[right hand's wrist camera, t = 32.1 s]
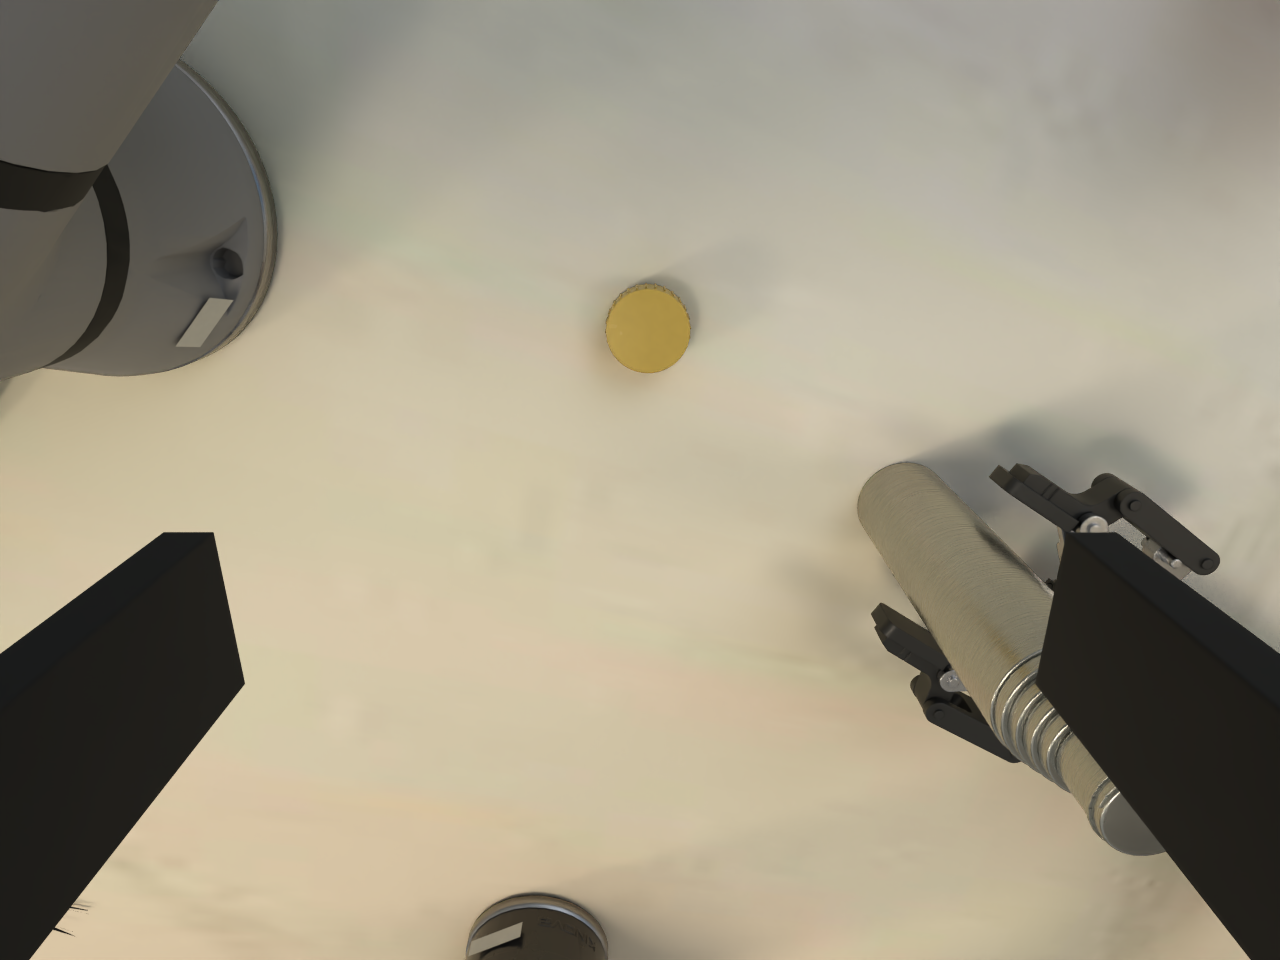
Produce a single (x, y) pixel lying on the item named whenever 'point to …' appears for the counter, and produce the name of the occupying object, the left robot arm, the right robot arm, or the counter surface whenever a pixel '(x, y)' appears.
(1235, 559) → the counter surface
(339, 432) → the counter surface
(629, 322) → the cap
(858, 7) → the counter surface
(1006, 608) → the bottle
